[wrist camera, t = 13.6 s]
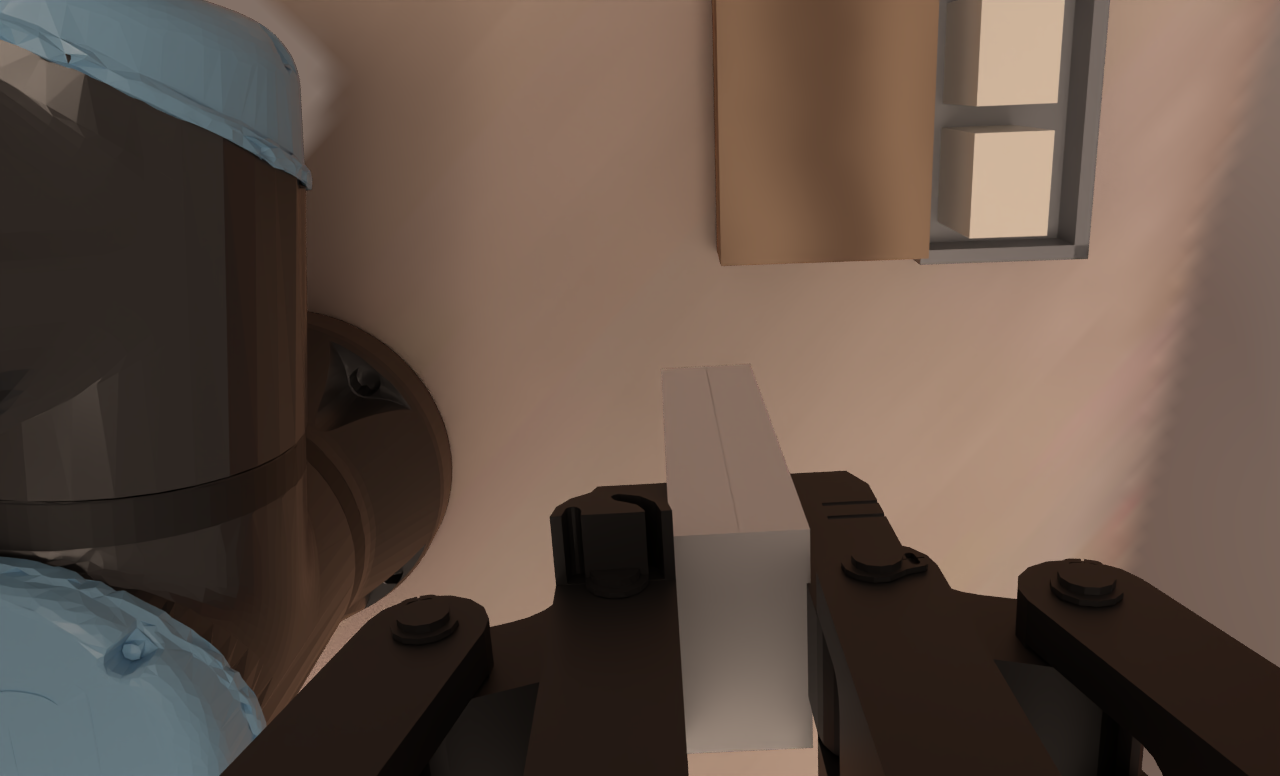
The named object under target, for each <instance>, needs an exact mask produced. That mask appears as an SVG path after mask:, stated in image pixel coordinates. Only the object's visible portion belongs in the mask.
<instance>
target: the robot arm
mask: <svg viewBox="0 0 1280 776" xmlns="http://www.w3.org/2000/svg"><path fill="white" fill-rule="evenodd" d="M311 189H312V175H311V171H310V170H309V169H308V168H307V167H306V165H305V163H304V147H303V127H302V109H301V89H300V80H299V75H298V71H297V68H296V65H295V63H294V60H293V58H292V56H291V54H290V53H289V51H288V50H287V48H286V47H285V45H284V44H283V43H282V42H281V41H280V40H279V39H278V38H277V37H276V35H275V34H273V33H272V32H271V31H270V30H269V29H267V28H266V27H264V26H263V25H261V24H260V23H258V22H256V21H255V20H253V19H251V18H249V17H247V16H245V15H243V14H240V13H238V12H236V11H233V10H230V9H228V8H225V7H222V6H219V5H216V4H214V3H211V2H208V1H204V0H0V776H688V760H687V754H691V753H712V752H734V751H755V750H776V749H798V748H813V728H812V713H813V717H814V721H815V724H816V728H817V732H818V776H1148V775H1147V774H1146V773H1145V772H1143V771H1142V759H1143V749H1144V747H1145V748H1146V749H1147V750H1148V752H1149V753H1150V754H1151V755H1152V756H1153V757H1154V759H1155V761H1156V763H1157V765H1158V766H1159V768H1160V770H1161V772H1162V775H1163V776H1280V668H1279V667H1278V666H1276V665H1275V664H1273V663H1271V662H1270V661H1268V660H1267V659H1265V658H1264V657H1262V656H1261V655H1259V654H1257V653H1256V652H1254V651H1253V650H1251V649H1250V648H1248V647H1247V646H1245V645H1244V644H1242V643H1240V642H1239V641H1237V640H1236V639H1234V638H1233V637H1231V636H1229V635H1228V634H1226V633H1225V632H1223V631H1222V630H1220V629H1219V628H1217V627H1216V626H1214V625H1213V624H1211V623H1209V622H1208V621H1206V620H1205V619H1203V618H1202V617H1200V616H1199V615H1197V614H1195V613H1194V612H1192V611H1191V610H1189V609H1188V608H1186V607H1185V606H1183V605H1181V604H1180V603H1178V602H1177V601H1175V600H1174V599H1172V598H1171V597H1169V596H1168V595H1166V594H1165V593H1163V592H1161V591H1160V590H1158V589H1157V588H1155V587H1154V586H1152V585H1151V584H1149V583H1148V582H1146V581H1144V580H1143V579H1141V578H1139V577H1137V576H1135V575H1133V574H1131V573H1129V572H1126V571H1124V570H1122V569H1119V568H1115V567H1111V566H1108V565H1104V564H1102V563H1101V562H1098V561H1093V560H1086V559H1084V561H1081V559H1065V560H1062V561H1048V562H1044V563H1041V564H1038V565H1034V566H1031V567H1028V568H1027V569H1026V570H1025V571H1024V572H1023V573H1022V574H1020V575H1019V576H1018V592H1017V599H1011V598H1002V597H993V596H984V595H977V594H971V593H966V592H961V591H957V590H954V589H951V587H950V586H949V584H948V582H947V581H946V579H945V577H944V575H943V574H942V572H941V570H940V569H939V567H938V565H937V564H936V563H935V562H933V561H932V560H931V559H930V558H929V557H928V556H927V555H925V554H923V553H921V552H919V551H916V550H914V549H912V548H910V547H905V546H902V545H901V543H900V541H899V540H898V538H897V536H896V534H895V532H894V530H893V529H892V527H891V525H890V523H889V521H888V519H887V518H886V516H885V517H884V512H883V510H882V508H881V507H880V505H879V503H877V499H876V497H875V496H874V494H873V492H872V490H871V488H870V486H869V485H868V484H867V483H866V482H864V481H862V480H861V479H859V478H857V477H856V476H854V475H852V474H850V473H849V472H847V471H832V472H813V473H795V474H790V472H789V470H788V467H787V464H786V461H785V459H784V456H783V453H782V450H781V448H780V445H779V442H778V439H777V436H776V434H775V431H774V428H773V425H772V423H771V420H770V417H769V414H768V412H767V409H766V406H765V403H764V400H763V398H762V395H761V392H760V389H759V387H758V384H757V381H756V378H755V376H754V373H753V370H752V367H751V365H750V364H739V365H721V366H703V367H685V368H667V369H661V374H662V394H663V414H664V435H665V455H666V476H667V483H658V484H639V485H620V486H601V487H597V488H596V489H594V490H593V491H592V492H591V493H588V494H585V495H581V496H578V497H575V498H571V499H569V500H568V501H566V502H564V503H563V504H561V505H559V506H557V507H556V508H555V510H554V511H553V513H552V514H551V516H550V524H551V535H552V546H553V557H554V567H555V578H556V590H555V595H554V601H553V605H552V606H550V607H549V608H547V609H546V610H544V611H542V612H540V613H537V614H535V615H533V616H531V617H528V618H525V619H521V620H518V621H514V622H511V623H506V624H502V625H497V626H493V627H490V625H489V618H488V615H487V613H486V611H485V609H484V607H483V606H481V605H479V604H478V603H476V602H474V601H473V600H471V599H467V598H461V597H456V596H436V595H425V596H420V598H417V597H414V598H410V599H406V600H404V601H402V602H401V603H399V604H397V605H394V606H392V607H389V608H387V609H385V610H383V611H381V612H380V613H378V614H377V615H376V616H374V617H373V618H372V619H370V620H369V621H368V622H367V623H366V624H365V625H364V626H363V627H362V628H361V629H360V630H359V631H358V632H357V633H356V634H355V635H354V636H353V637H352V638H351V639H350V640H349V641H348V642H347V643H346V644H345V645H344V646H343V648H342V649H341V650H340V651H339V652H338V653H337V654H336V655H335V656H334V657H333V658H332V659H331V660H330V661H329V662H328V663H327V664H326V665H325V666H324V667H323V668H322V669H321V670H320V671H319V672H318V673H317V675H316V676H315V677H314V678H313V679H312V680H311V681H310V682H309V683H308V684H307V685H306V686H305V687H304V688H303V689H302V690H301V691H300V689H301V687H302V686H303V684H304V682H305V681H306V679H307V677H308V676H309V674H310V672H311V671H312V669H313V667H314V666H315V664H316V662H317V660H318V659H319V657H320V655H321V654H322V652H323V650H324V649H325V647H326V645H327V644H328V642H329V640H330V639H331V637H332V635H333V634H334V632H335V630H336V629H337V627H338V625H339V623H340V622H341V621H342V620H344V619H346V618H348V617H350V616H352V615H354V614H356V613H357V612H359V611H361V610H363V609H365V608H367V607H369V606H370V605H372V604H374V603H376V602H377V601H379V600H380V599H382V598H384V597H385V596H387V595H388V594H389V593H390V592H392V591H393V590H394V589H395V588H397V587H398V586H399V585H400V584H401V583H402V582H403V581H404V580H405V579H406V578H407V577H408V576H409V575H410V574H411V573H412V572H413V570H414V569H415V568H416V567H417V565H418V564H419V563H420V561H421V560H422V558H423V557H424V555H425V553H426V552H427V550H428V548H429V546H430V545H431V543H432V541H433V539H434V537H435V535H436V533H437V531H438V529H439V527H440V525H441V523H442V520H443V518H444V515H445V512H446V509H447V505H448V501H449V496H450V491H451V481H452V463H451V453H450V446H449V441H448V437H447V433H446V430H445V427H444V424H443V421H442V418H441V416H440V413H439V411H438V409H437V407H436V405H435V403H434V401H433V399H432V398H431V396H430V394H429V392H428V391H427V389H426V388H425V386H424V385H423V383H422V382H421V381H420V379H419V378H418V377H417V375H416V374H415V373H414V372H413V371H412V370H411V368H410V367H409V366H408V365H407V364H406V363H405V362H404V361H403V360H402V359H401V358H400V357H399V356H398V355H397V354H395V353H394V352H393V351H392V350H391V349H389V348H388V347H387V346H386V345H384V344H383V343H381V342H380V341H379V340H377V339H376V338H374V337H372V336H371V335H369V334H368V333H366V332H364V331H362V330H360V329H359V328H357V327H354V326H352V325H350V324H348V323H346V322H343V321H340V320H338V319H335V318H332V317H328V316H325V315H322V314H317V313H313V312H307V260H306V191H307V190H311ZM299 691H300V692H299ZM298 692H299V693H298Z"/></svg>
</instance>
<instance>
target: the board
mask: <svg viewBox="0 0 1280 776" xmlns="http://www.w3.org/2000/svg"><path fill="white" fill-rule="evenodd" d="M938 19H939V0H712V22H713V74H714V125H715V176H716V228H717V253H718V256H719V260H720V264H721V266H732V265H760V264H788V263H816V262H844V261H872V260H900V259H928V258H929V241H930V217H931V192H932V167H933V143H934V118H935V93H936V69H937V44H938Z"/></svg>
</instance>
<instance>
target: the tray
mask: <svg viewBox="0 0 1280 776" xmlns="http://www.w3.org/2000/svg"><path fill="white" fill-rule="evenodd" d="M953 1H957V0H939V19H938V44H937V69H936V93H935V118H934V143H933V167H932V192H931V217H930V241H929V258H928V259H913V260H915V261H916V262H917V263H919V264H920V265H925V264H954V263H982V262H1010V261H1038V260H1066V259H1088V251H1089V240H1090V228H1091V216H1092V205H1093V193H1094V181H1095V170H1096V158H1097V146H1098V135H1099V123H1100V111H1101V100H1102V88H1103V76H1104V65H1105V53H1106V41H1107V30H1108V18H1109V6H1110V0H1065V5H1064V19H1063V33H1062V46H1061V60H1060V74H1059V88H1058V101H1057V103H1045V104H1022V105H998V106H966V105H954V104H943V90H944V66H945V42H946V18H947V3H950V2H953ZM995 125H1018V126H1026V127H1034V128H1041V129H1049V130H1055V136H1054V149H1053V163H1052V176H1051V190H1050V203H1049V216H1048V230H1047V236H1025V237H997V238H967V237H966V236H964V235H962V234H960V233H958V232H956V231H954V230H952V229H951V228H949V227H947V226H945V225H943V224H941V223H939V222H937V220H938V197H939V174H940V151H941V128H945V127H970V126H995Z"/></svg>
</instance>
